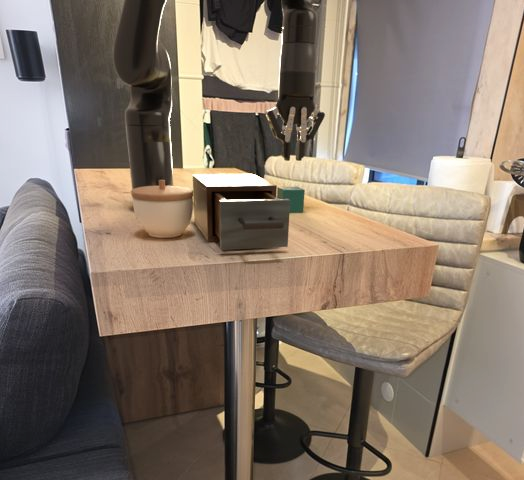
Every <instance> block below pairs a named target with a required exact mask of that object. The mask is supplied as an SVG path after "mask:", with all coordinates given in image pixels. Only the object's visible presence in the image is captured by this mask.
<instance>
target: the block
mask: <svg viewBox="0 0 524 480" xmlns="http://www.w3.org/2000/svg"><path fill="white" fill-rule="evenodd" d="M305 191H306V190H305V189H304V188H301V187H299V186H277V193H276V197H277V198H279V199H289V200H290V213H289V214H291V213H304V209H305V208H304V207H305V206H304V205H305V193H306V192H305Z"/></svg>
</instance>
